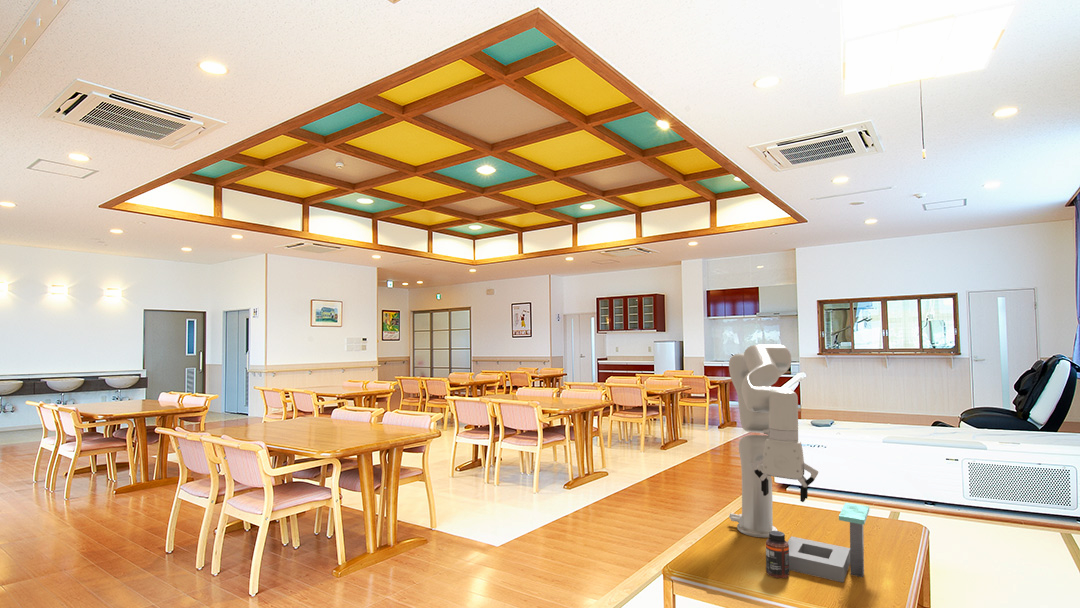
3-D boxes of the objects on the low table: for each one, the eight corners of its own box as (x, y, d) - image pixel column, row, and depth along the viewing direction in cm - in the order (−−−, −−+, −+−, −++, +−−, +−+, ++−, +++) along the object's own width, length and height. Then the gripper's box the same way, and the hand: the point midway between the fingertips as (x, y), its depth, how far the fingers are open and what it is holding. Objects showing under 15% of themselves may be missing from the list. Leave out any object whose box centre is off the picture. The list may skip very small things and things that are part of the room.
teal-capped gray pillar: (839, 580, 154) (838, 515, 154) (846, 562, 165) (845, 502, 166) (865, 586, 150) (864, 520, 151) (869, 567, 162) (869, 506, 162)
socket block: (779, 567, 161) (779, 553, 162) (791, 549, 175) (791, 536, 175) (843, 582, 152) (843, 567, 152) (850, 562, 166) (850, 548, 166)
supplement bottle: (788, 571, 159) (788, 530, 159) (790, 580, 153) (790, 538, 154) (765, 568, 161) (765, 528, 161) (766, 577, 155) (766, 535, 156)
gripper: (747, 433, 160) (748, 495, 160) (815, 441, 151) (816, 506, 150) (754, 430, 167) (755, 489, 166) (819, 436, 157) (820, 499, 156)
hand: (784, 497), depth 158 cm, fingers open, 9 cm apart
